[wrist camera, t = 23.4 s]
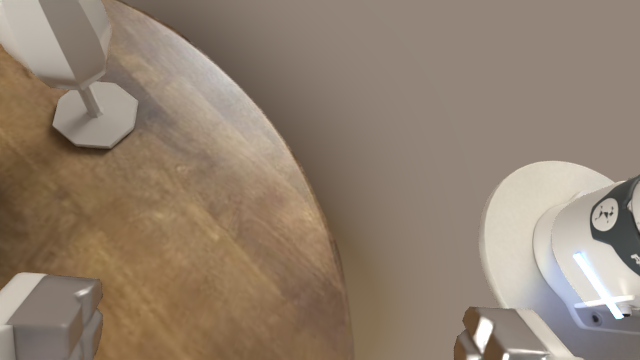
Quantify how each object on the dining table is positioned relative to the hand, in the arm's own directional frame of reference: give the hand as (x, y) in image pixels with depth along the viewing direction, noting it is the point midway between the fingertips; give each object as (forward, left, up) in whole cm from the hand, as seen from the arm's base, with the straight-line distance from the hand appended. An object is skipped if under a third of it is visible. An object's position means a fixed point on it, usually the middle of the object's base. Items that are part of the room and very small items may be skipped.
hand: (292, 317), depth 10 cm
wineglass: (+24, -20, -38) cm, 49 cm away
